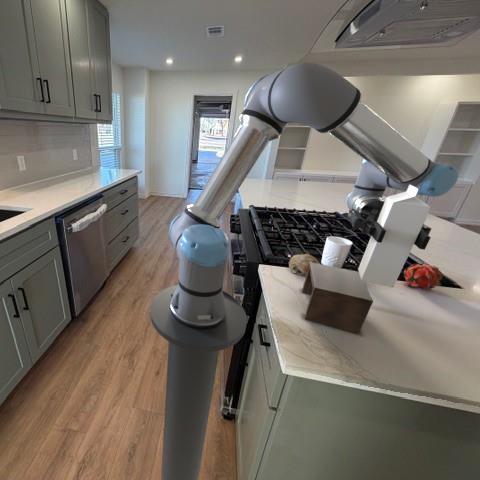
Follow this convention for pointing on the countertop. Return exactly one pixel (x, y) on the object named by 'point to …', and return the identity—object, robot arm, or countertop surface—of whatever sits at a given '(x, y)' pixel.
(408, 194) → the milk
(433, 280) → the dragon fruit
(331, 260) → the white cup
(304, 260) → the tan rounded lump
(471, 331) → the countertop surface
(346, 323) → the dark wooden crate
